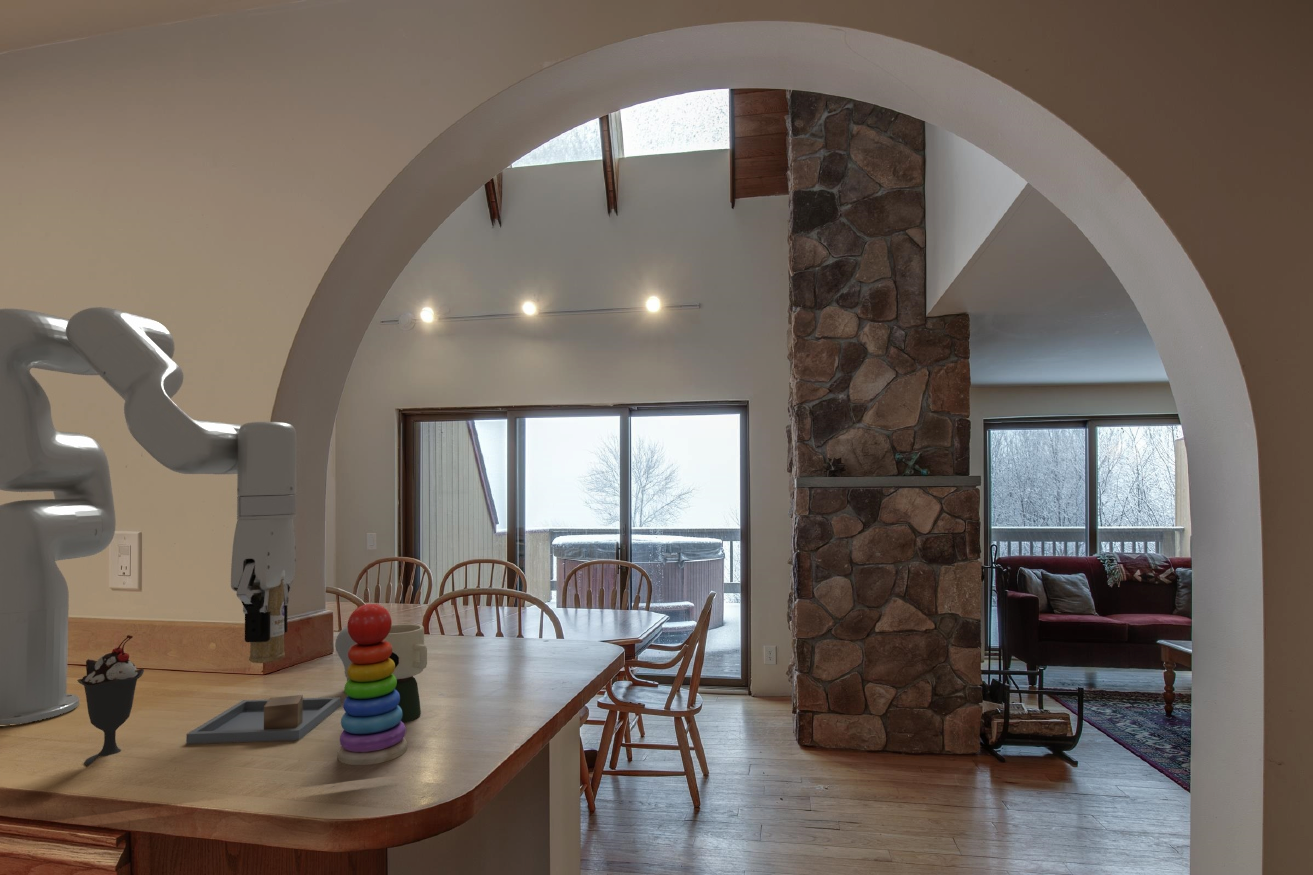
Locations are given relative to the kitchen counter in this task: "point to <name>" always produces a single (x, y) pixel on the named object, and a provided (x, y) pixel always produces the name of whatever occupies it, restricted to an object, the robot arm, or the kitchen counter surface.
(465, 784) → the kitchen counter surface
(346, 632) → the lightbulb
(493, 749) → the kitchen counter surface
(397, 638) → the character mug
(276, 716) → the walnut block
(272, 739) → the slate tray
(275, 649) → the sprinkles bottle
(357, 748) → the stacking toy
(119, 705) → the sundae
